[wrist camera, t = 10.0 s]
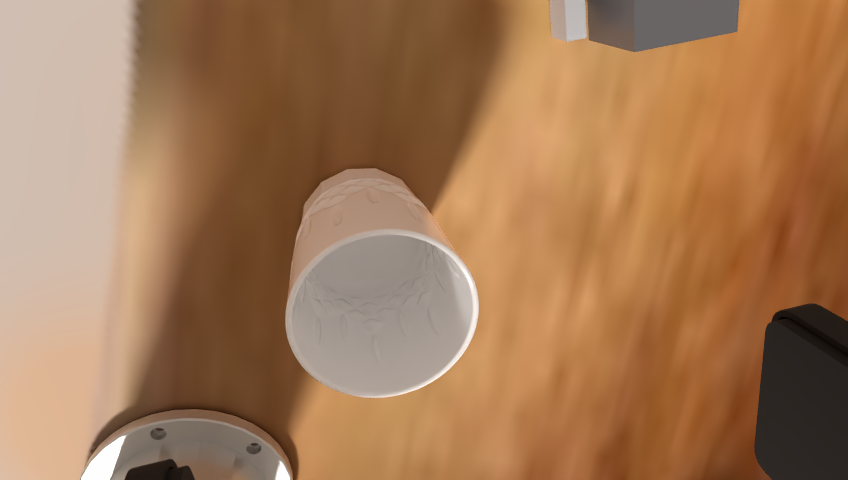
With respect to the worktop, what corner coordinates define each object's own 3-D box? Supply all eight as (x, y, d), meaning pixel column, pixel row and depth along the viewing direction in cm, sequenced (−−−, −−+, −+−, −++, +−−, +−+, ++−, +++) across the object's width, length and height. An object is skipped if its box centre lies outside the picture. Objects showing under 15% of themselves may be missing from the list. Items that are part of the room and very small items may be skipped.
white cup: (395, 130, 32) (433, 194, 23) (454, 250, 36) (506, 346, 27) (261, 197, 32) (246, 287, 23) (332, 310, 36) (342, 426, 27)
